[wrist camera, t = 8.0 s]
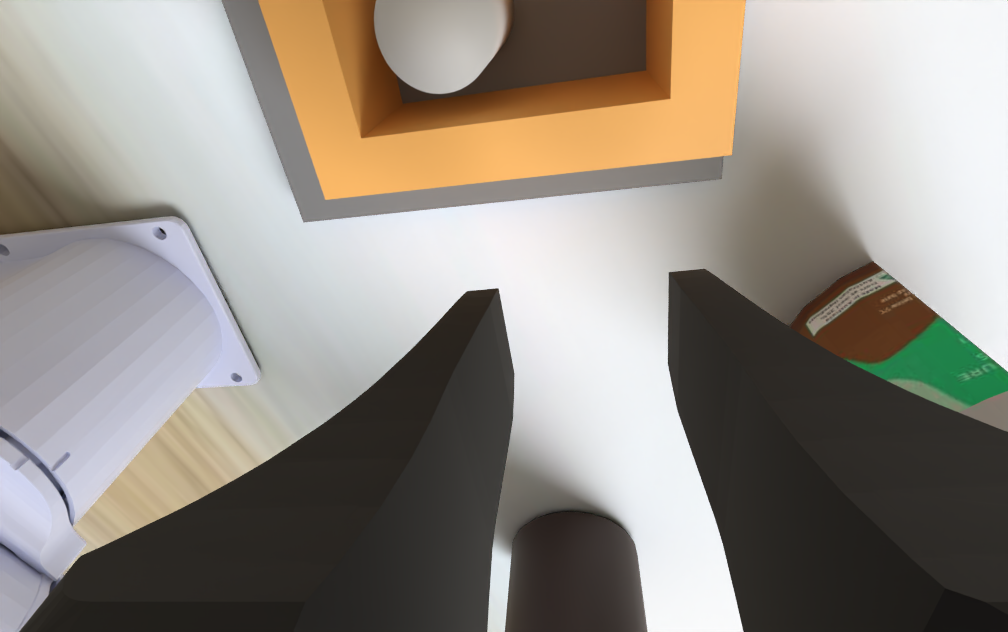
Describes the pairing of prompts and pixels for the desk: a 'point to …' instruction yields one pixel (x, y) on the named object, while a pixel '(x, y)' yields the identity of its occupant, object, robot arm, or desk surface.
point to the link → (503, 104)
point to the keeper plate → (468, 86)
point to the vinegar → (574, 577)
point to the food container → (905, 344)
